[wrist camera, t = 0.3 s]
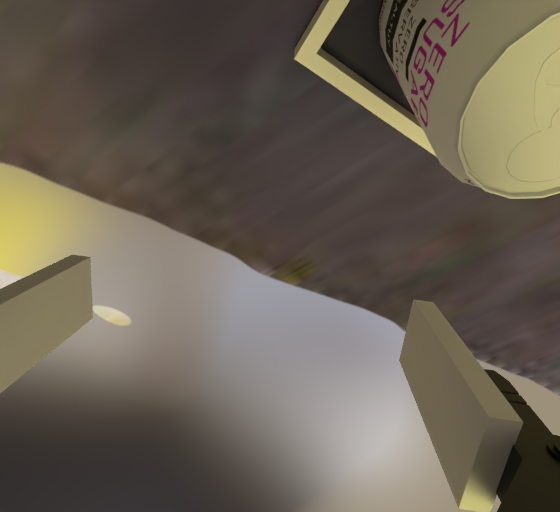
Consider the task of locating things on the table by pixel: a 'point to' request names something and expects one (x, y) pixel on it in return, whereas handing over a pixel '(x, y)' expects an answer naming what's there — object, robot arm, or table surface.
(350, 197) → the table surface
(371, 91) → the dock
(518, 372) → the table surface
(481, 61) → the supplement can
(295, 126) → the table surface
